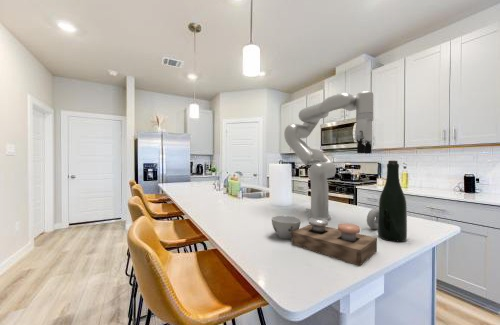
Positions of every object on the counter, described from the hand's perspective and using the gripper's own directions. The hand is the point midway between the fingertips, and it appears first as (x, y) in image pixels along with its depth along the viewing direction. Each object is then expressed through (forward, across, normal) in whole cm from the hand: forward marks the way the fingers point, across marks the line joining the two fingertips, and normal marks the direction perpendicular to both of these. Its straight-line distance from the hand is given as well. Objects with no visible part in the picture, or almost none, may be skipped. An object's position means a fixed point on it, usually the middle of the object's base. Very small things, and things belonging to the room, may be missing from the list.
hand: (364, 153), depth 112 cm
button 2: (+32, +35, +6) cm, 48 cm away
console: (+36, +35, 0) cm, 50 cm away
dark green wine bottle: (+37, +7, +13) cm, 40 cm away
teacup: (+36, +36, -21) cm, 56 cm away
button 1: (+32, +35, -6) cm, 48 cm away
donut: (+36, -1, +4) cm, 37 cm away
